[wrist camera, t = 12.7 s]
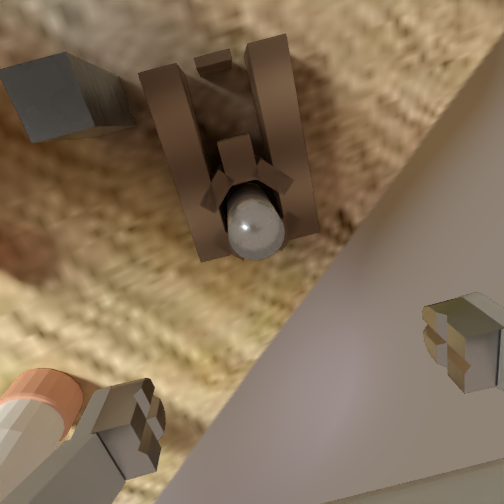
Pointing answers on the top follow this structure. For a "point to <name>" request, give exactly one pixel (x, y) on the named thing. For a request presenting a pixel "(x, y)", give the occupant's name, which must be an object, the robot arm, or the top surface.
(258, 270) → the top surface
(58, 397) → the pepper shaker
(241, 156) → the bore block
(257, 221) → the cylinder
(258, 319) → the top surface
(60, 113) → the square bit
